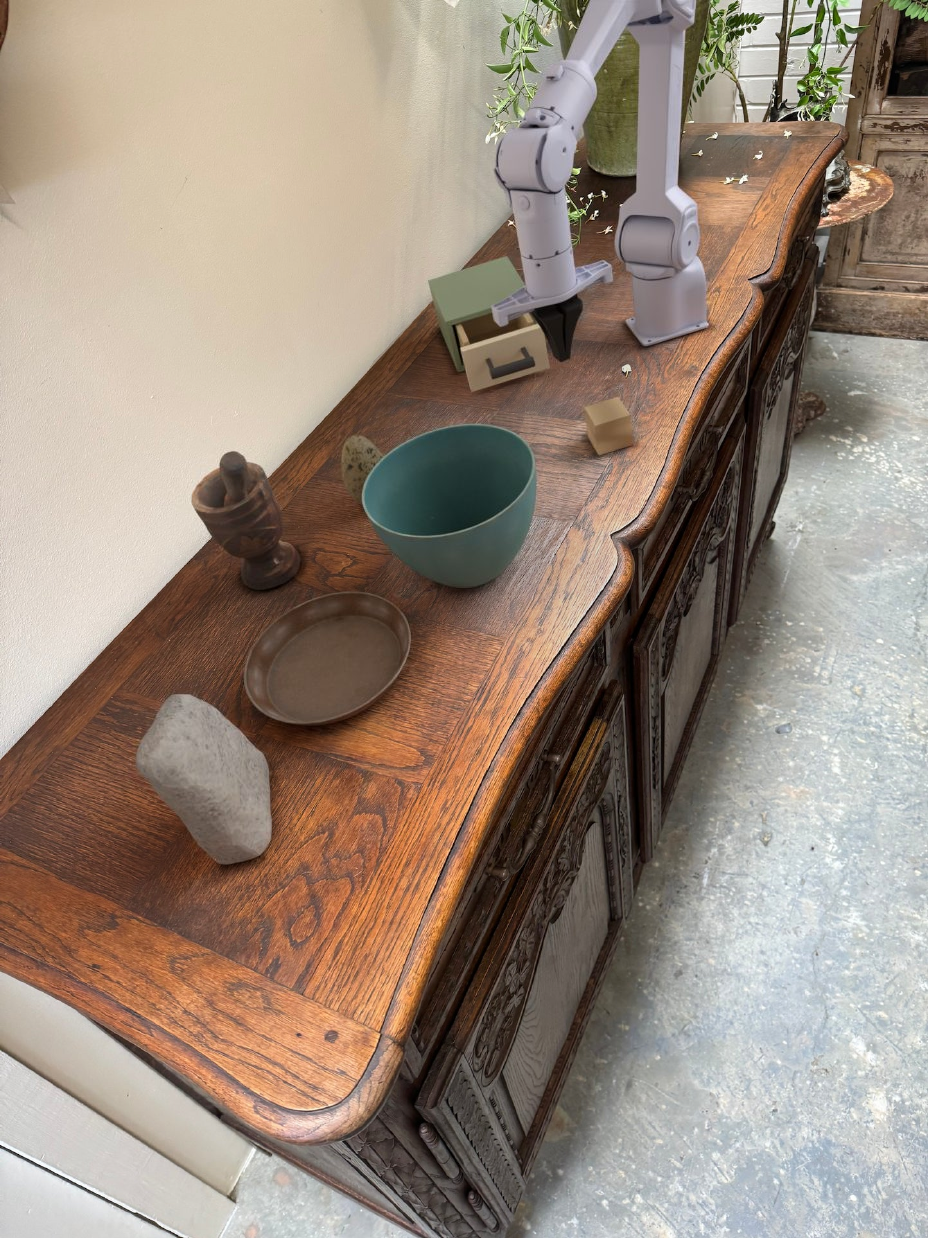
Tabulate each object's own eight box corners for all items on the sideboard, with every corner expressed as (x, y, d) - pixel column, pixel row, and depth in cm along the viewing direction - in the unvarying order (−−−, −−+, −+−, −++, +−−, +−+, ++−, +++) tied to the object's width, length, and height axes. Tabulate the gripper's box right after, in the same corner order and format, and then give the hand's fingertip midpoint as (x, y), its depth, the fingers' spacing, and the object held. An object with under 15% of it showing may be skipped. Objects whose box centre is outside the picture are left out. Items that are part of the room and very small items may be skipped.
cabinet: (540, 347, 123) (531, 294, 117) (458, 372, 123) (445, 321, 117) (516, 305, 133) (506, 255, 127) (440, 328, 133) (427, 280, 127)
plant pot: (407, 642, 88) (373, 558, 79) (383, 536, 101) (352, 453, 92) (572, 591, 88) (556, 501, 79) (527, 491, 101) (510, 404, 92)
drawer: (558, 383, 113) (552, 341, 109) (478, 408, 113) (468, 367, 109) (525, 325, 126) (518, 285, 122) (453, 348, 126) (443, 309, 122)
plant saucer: (321, 592, 96) (311, 574, 94) (448, 631, 88) (442, 612, 85) (221, 709, 87) (209, 691, 85) (353, 765, 79) (343, 747, 76)
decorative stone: (223, 768, 82) (148, 673, 71) (281, 756, 81) (215, 658, 71) (208, 871, 74) (123, 781, 64) (272, 859, 74) (197, 766, 63)
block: (621, 426, 105) (618, 396, 102) (633, 445, 102) (630, 414, 99) (587, 436, 105) (583, 407, 102) (598, 455, 102) (594, 425, 99)
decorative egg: (349, 498, 107) (323, 434, 100) (392, 481, 108) (369, 416, 101) (361, 524, 103) (334, 459, 96) (405, 506, 104) (382, 440, 97)
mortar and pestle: (339, 559, 100) (277, 418, 85) (297, 609, 95) (224, 469, 81) (268, 540, 105) (198, 405, 91) (224, 587, 101) (144, 453, 86)
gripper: (587, 213, 96) (598, 322, 106) (472, 259, 94) (495, 366, 104) (617, 231, 91) (626, 344, 101) (497, 280, 89) (518, 390, 99)
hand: (561, 357), depth 102 cm, fingers closed
